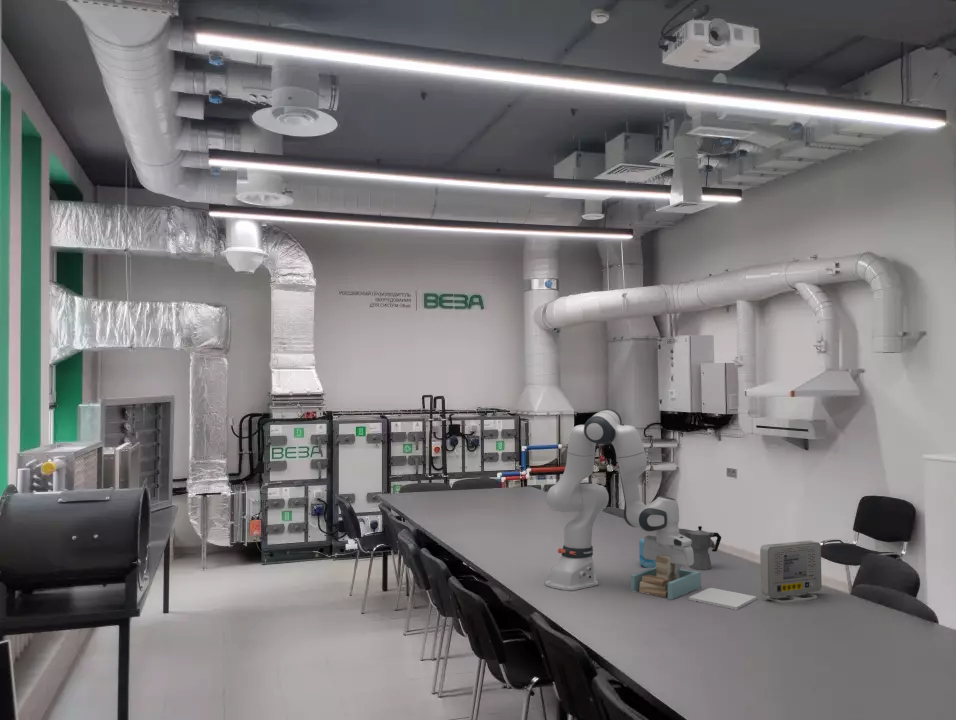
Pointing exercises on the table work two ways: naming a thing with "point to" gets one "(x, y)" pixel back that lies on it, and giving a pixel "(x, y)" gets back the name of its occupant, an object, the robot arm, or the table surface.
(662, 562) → the beige wooden block
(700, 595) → the pad
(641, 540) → the data package
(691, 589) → the tray
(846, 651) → the table surface
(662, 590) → the offcut stack
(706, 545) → the coffeepot
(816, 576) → the network device
